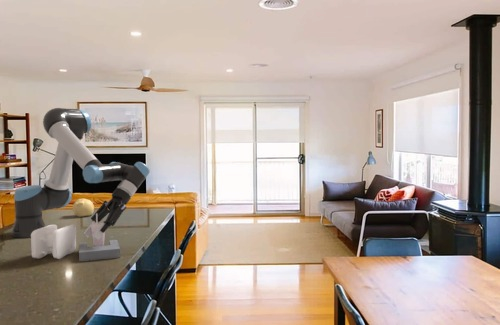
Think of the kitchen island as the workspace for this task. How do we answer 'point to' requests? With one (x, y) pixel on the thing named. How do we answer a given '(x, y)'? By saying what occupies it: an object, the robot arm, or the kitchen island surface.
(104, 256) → the notched board
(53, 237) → the cable organizer
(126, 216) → the kitchen island surface
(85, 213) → the pale yellow round lump
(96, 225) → the smoothie
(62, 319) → the kitchen island surface
